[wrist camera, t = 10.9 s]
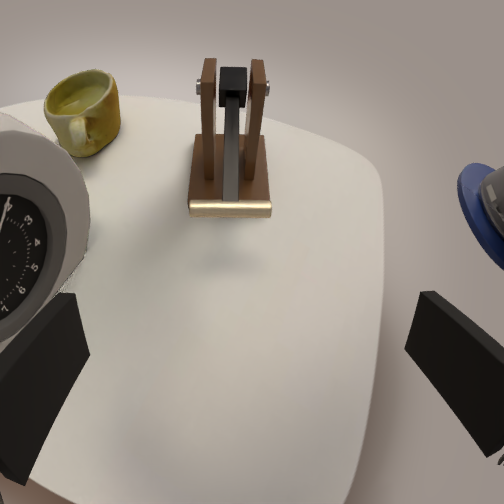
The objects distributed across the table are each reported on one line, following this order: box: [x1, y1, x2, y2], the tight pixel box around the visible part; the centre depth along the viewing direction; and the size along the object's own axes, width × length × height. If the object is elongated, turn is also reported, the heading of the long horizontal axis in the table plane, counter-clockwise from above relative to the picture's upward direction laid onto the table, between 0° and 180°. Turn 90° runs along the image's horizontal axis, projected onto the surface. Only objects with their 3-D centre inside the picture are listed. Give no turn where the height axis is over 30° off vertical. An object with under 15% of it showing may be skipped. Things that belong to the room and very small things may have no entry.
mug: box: [44, 69, 120, 157], centre depth 30 cm, size 12×10×10 cm
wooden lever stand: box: [188, 58, 270, 208], centre depth 27 cm, size 10×8×13 cm
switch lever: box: [189, 67, 272, 218], centre depth 22 cm, size 13×6×2 cm, turn 3°
